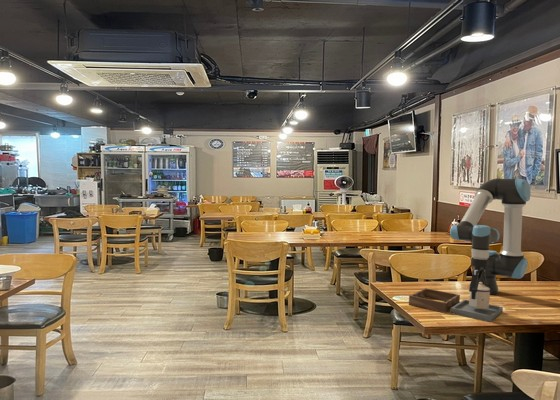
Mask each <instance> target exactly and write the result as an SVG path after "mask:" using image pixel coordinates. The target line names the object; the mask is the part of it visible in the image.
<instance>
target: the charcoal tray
mask: <svg viewBox="0 0 560 400" xmlns="http://www.w3.org/2000/svg"><path fill="white" fill-rule="evenodd" d="M503 308H504V307H503V306H499V305H495V304H490V303H489V308H487V309H480V308H475V307H472V306H470V305H469V299H462V300H461V301H460V302H459V303H458V304H456V305H455V306H453V307H451V309H450V314H454V315H457V316H462V317H466V318H471V319H475V320H479V321H485V322H490V323H493V322H494V321H495V320H496V319H497V318H498V317H499V316H501V314H502V313H503V311H504V309H503Z"/></svg>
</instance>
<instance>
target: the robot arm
mask: <svg viewBox="0 0 560 400" xmlns="http://www.w3.org/2000/svg"><path fill="white" fill-rule="evenodd" d="M530 199H531V187H530V183H529V181H527V180H526V179H524V178H523V179H521V178H500V177H499V178H492V179H489V180H488V181H486V182H484V183H483V184H481V185H480V186H479V187H478V188H477V189H476V191H475V192H474V198H473V200H472V202H471V203H470V205H469V207H468V208H467V210H466V212H465V214H464V215H463V217H462V219H461V220H460V222H459V224H453V225H451V227H450V230H449V235H450V237H451V239H452V240H456V241H457V240H458V241H465V242H471V249H470V252H471V255H470V256H471V258H470V265H471V266H472V267H473V269H472V270H471V271H472V272H471V274H472V275H471V278H470V283H469V286H468V287H469V288H468V292H469V293H470V292H471V301H470V305H471V306H477V294H478V292H477V289H478V285H479V282H482V283H483V285H485V286H486V287H489V288H490V295H497V294H499V286H498V283H497V279H496V276H501V277H505V278H511V279H522V278H523V277H524V276H525V274H526V272H527V268H528V263H529V262H528V258H526V257H525V254H524V253H523V252H522V233H523V232H522V230H523V228H522V227H523V225H522V224H523V207H525V206H526V204H527V202H529V201H530ZM494 200H497V201H498V200H500V201H501V205H503V207H504V208H503V209H504V210H503V211H504V213H503V215H504V217H503V241H502V242H503V243H502V250H500V251H499V253H498V251H496V250H490V245H492V244H495V243H497V242H499V239H500V232H499V230H498V229H496V228H494V227H490V226H489V225H485V224H478V223H479V221H480V219H481V217H482V216H483V214H484V213H485V211H486V208H488V205H489V204H490V203H492V202H493V201H494Z"/></svg>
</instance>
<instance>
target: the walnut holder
mask: <svg viewBox="0 0 560 400" xmlns="http://www.w3.org/2000/svg"><path fill="white" fill-rule="evenodd" d="M460 297H461V295H460V294H458V293H451V292H446V291H442V290H441V291H440V290H436V289H432V288H431V289H430V288H427V287H425V288H423V289H420V290H418V291H416V292H414V293H412V294H410V295H409V296H408V305H409V306H413V307H417V308H422V309H427V310H430V311H436V312H440V313H444V314H445V313H447V312H449V311H451V307H453V306H455V305H456V304H458V303H459V302H461V301H460V300H461V298H460ZM442 301H443V302H442Z"/></svg>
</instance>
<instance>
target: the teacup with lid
mask: <svg viewBox="0 0 560 400" xmlns="http://www.w3.org/2000/svg"><path fill="white" fill-rule="evenodd" d="M477 292H478V294H477V306H472V307H475V308H480V309H487V308H489V304H490V298H491V297H490V295H491V294H490V288H489V287H486V286H485V285H483V283H482V282H479V285H478V289H477ZM468 300H469V305H470V301H471V292H470V291H469V296H468ZM470 306H471V305H470Z"/></svg>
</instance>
